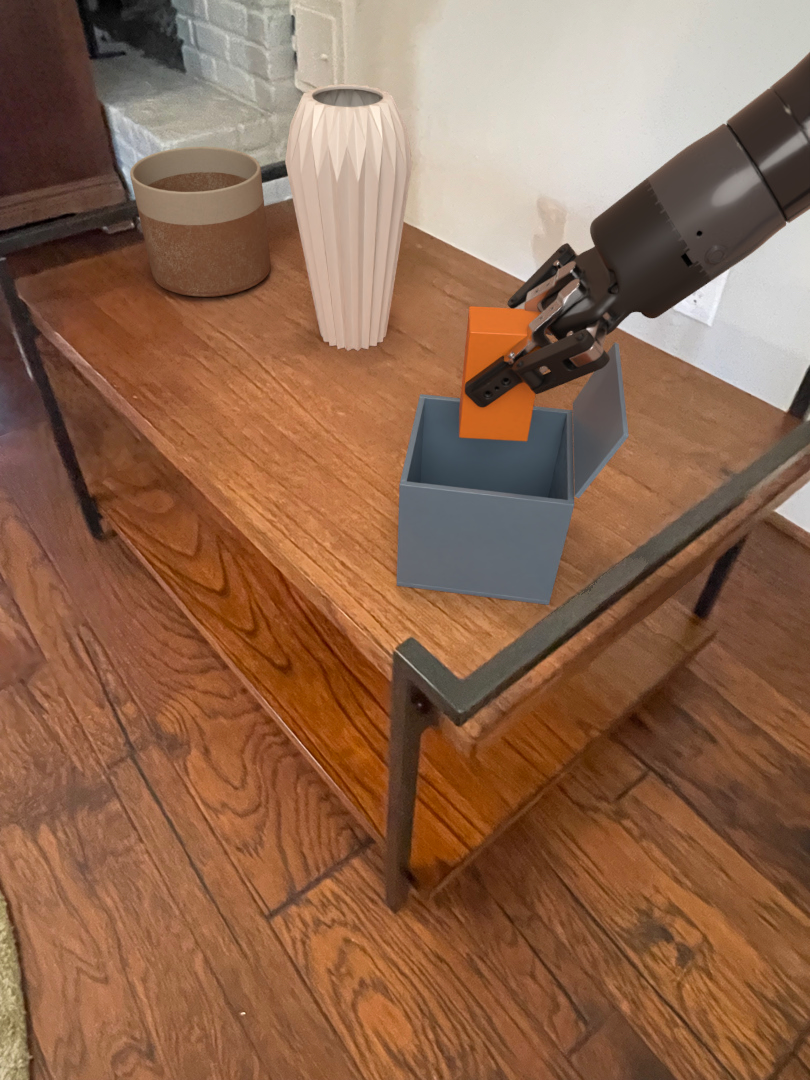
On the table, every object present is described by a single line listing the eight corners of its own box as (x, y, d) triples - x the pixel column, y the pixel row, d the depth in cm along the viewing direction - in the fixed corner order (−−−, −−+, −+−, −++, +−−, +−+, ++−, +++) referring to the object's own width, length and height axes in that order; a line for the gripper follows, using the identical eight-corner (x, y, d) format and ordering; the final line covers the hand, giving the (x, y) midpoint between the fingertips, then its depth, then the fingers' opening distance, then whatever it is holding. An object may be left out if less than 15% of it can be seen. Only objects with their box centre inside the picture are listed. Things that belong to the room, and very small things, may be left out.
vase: (282, 321, 95) (259, 85, 76) (376, 298, 100) (376, 71, 81) (326, 374, 87) (312, 124, 68) (426, 347, 91) (439, 106, 73)
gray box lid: (572, 402, 63) (576, 404, 63) (574, 496, 55) (579, 498, 55) (614, 341, 58) (619, 343, 59) (623, 434, 50) (629, 436, 50)
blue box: (550, 509, 72) (572, 409, 63) (548, 605, 63) (574, 504, 55) (415, 493, 73) (420, 393, 64) (396, 585, 64) (399, 484, 56)
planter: (212, 238, 111) (196, 137, 101) (294, 268, 105) (286, 164, 95) (128, 278, 102) (101, 171, 92) (213, 314, 96) (195, 203, 86)
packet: (524, 413, 60) (542, 309, 53) (527, 441, 57) (546, 335, 51) (459, 410, 60) (469, 305, 53) (459, 438, 57) (469, 331, 51)
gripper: (634, 138, 50) (440, 299, 59) (677, 228, 40) (435, 405, 49) (691, 223, 54) (499, 362, 62) (743, 324, 44) (506, 472, 52)
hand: (472, 380), depth 56 cm, fingers closed on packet, 3 cm apart
